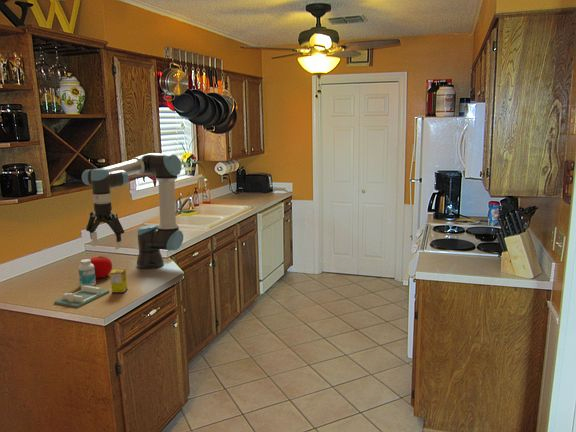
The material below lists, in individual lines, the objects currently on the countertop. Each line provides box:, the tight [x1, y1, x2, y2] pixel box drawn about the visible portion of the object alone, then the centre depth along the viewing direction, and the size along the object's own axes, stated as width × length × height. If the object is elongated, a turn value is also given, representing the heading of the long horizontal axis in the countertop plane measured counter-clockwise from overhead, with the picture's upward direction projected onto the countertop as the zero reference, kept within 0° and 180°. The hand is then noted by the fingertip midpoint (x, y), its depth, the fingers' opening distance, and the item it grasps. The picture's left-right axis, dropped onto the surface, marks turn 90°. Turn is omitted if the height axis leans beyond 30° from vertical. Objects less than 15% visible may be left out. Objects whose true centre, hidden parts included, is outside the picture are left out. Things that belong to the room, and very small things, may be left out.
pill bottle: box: [77, 258, 97, 287], centre depth 239 cm, size 8×7×14 cm
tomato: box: [89, 255, 113, 279], centre depth 252 cm, size 12×14×12 cm
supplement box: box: [109, 268, 128, 295], centre depth 231 cm, size 6×6×11 cm
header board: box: [54, 285, 110, 309], centre depth 223 cm, size 20×14×5 cm
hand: (106, 247), depth 219 cm, fingers open, 13 cm apart
